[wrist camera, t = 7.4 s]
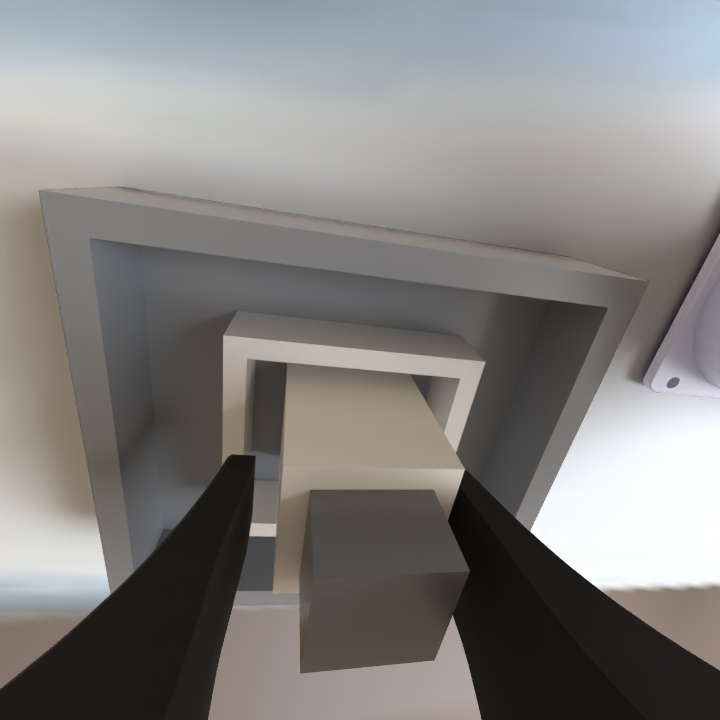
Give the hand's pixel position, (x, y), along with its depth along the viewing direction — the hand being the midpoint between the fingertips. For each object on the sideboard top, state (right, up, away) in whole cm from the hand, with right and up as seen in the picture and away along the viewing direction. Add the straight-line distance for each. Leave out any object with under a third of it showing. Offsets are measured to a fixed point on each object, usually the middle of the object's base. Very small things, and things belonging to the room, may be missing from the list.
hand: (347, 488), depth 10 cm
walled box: (-1, +2, +4) cm, 4 cm away
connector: (0, +2, +3) cm, 3 cm away
